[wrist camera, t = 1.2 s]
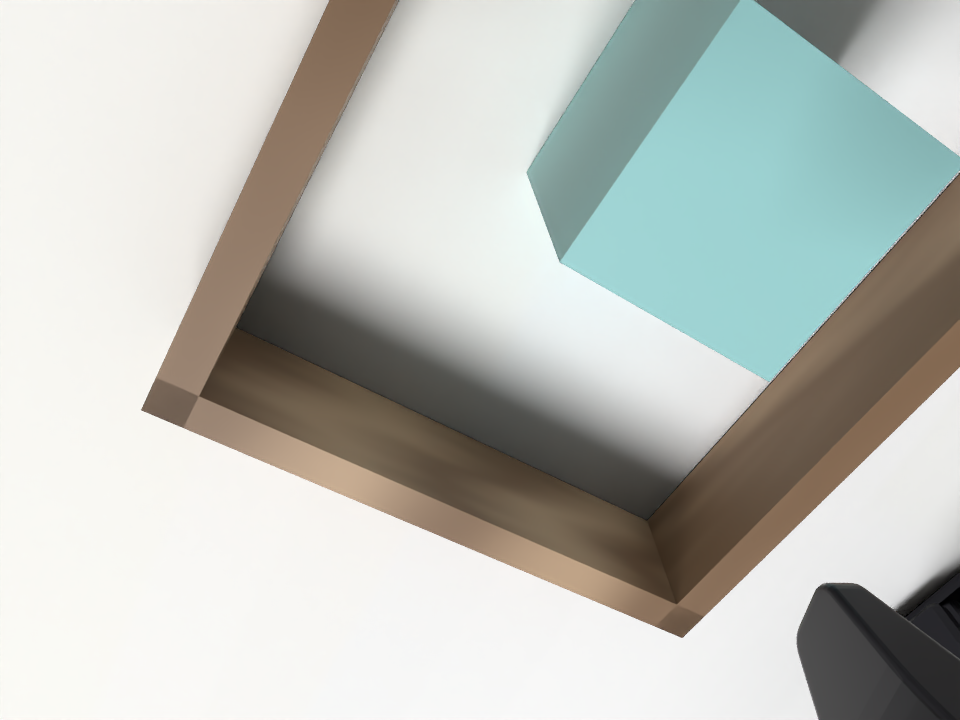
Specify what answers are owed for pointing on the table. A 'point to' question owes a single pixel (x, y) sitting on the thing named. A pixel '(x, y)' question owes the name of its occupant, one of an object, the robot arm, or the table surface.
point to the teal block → (730, 177)
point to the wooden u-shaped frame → (509, 482)
